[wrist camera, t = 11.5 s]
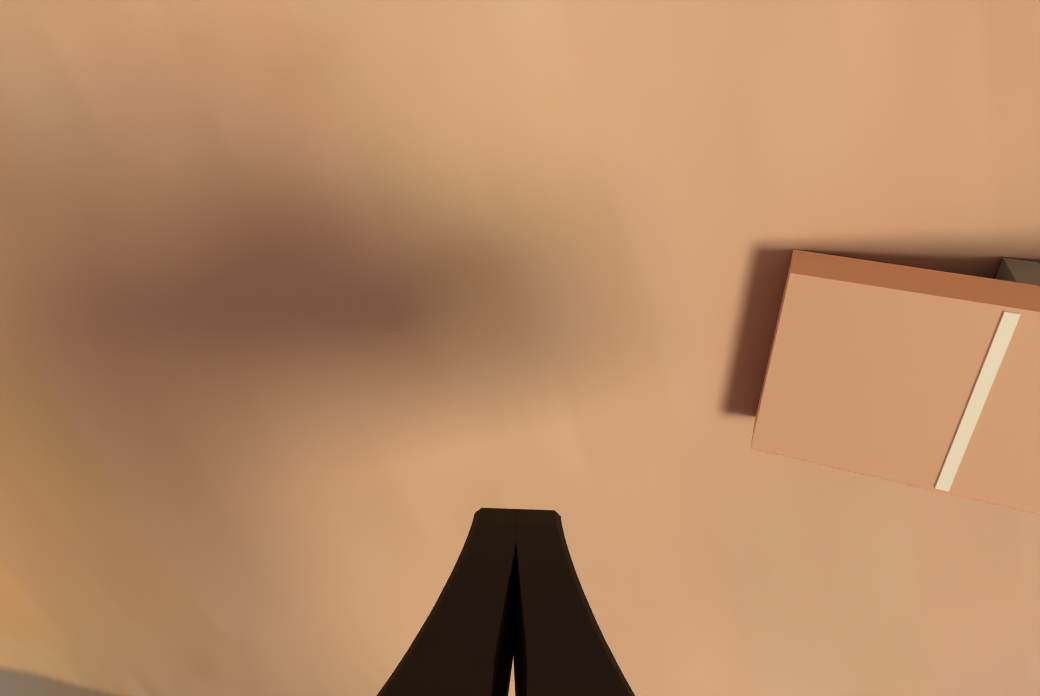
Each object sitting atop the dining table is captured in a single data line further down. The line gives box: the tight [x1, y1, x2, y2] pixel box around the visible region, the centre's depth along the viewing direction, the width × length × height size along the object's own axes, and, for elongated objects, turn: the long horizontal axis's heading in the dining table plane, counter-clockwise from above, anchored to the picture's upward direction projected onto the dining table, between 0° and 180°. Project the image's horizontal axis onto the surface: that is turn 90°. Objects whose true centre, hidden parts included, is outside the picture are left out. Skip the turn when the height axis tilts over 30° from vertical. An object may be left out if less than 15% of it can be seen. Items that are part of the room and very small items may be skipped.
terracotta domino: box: [751, 249, 1040, 515], centre depth 17 cm, size 5×2×9 cm
